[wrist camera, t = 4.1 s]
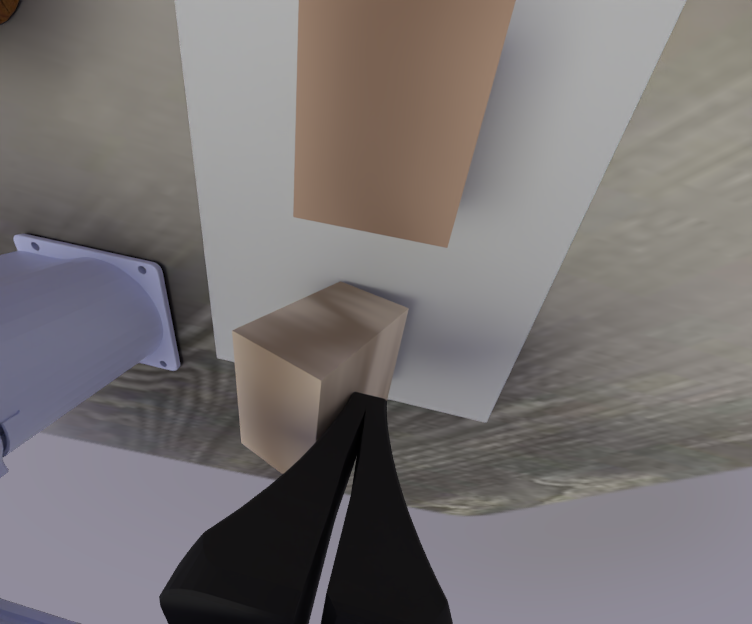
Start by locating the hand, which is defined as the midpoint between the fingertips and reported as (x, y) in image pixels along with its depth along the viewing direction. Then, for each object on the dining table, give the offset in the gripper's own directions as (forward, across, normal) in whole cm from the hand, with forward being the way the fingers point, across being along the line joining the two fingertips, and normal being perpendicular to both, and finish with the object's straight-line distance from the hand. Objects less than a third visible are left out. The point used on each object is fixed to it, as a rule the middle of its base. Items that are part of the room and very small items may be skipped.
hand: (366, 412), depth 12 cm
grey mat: (+6, +2, -6) cm, 9 cm away
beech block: (+5, +1, 0) cm, 5 cm away
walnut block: (+6, +1, -10) cm, 12 cm away
